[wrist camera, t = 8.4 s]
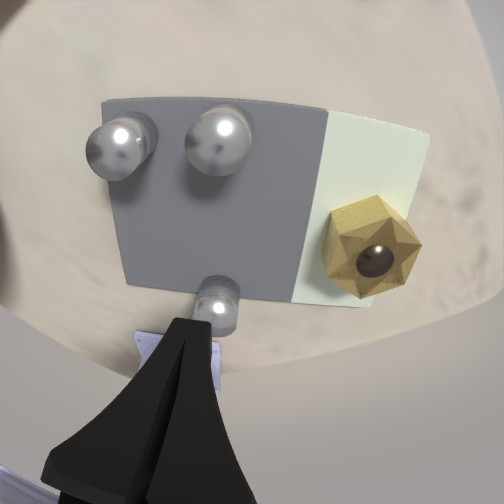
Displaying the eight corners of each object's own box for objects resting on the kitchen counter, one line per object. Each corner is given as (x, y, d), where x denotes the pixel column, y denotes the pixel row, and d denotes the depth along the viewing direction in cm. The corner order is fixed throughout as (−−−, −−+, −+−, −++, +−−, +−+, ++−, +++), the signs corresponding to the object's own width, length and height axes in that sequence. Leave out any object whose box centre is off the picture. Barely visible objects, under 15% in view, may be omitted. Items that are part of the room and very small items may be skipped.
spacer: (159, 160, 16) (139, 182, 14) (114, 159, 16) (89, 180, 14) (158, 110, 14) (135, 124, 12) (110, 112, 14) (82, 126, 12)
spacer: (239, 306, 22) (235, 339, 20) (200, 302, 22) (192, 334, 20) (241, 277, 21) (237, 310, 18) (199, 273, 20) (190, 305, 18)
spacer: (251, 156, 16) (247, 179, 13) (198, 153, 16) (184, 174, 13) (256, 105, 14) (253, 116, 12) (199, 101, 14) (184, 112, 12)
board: (366, 298, 22) (369, 307, 22) (131, 275, 22) (126, 284, 22) (423, 131, 15) (430, 136, 14) (109, 99, 15) (101, 103, 14)
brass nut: (385, 275, 20) (396, 302, 18) (316, 269, 20) (321, 297, 18) (414, 200, 16) (431, 223, 14) (336, 188, 16) (345, 210, 14)
